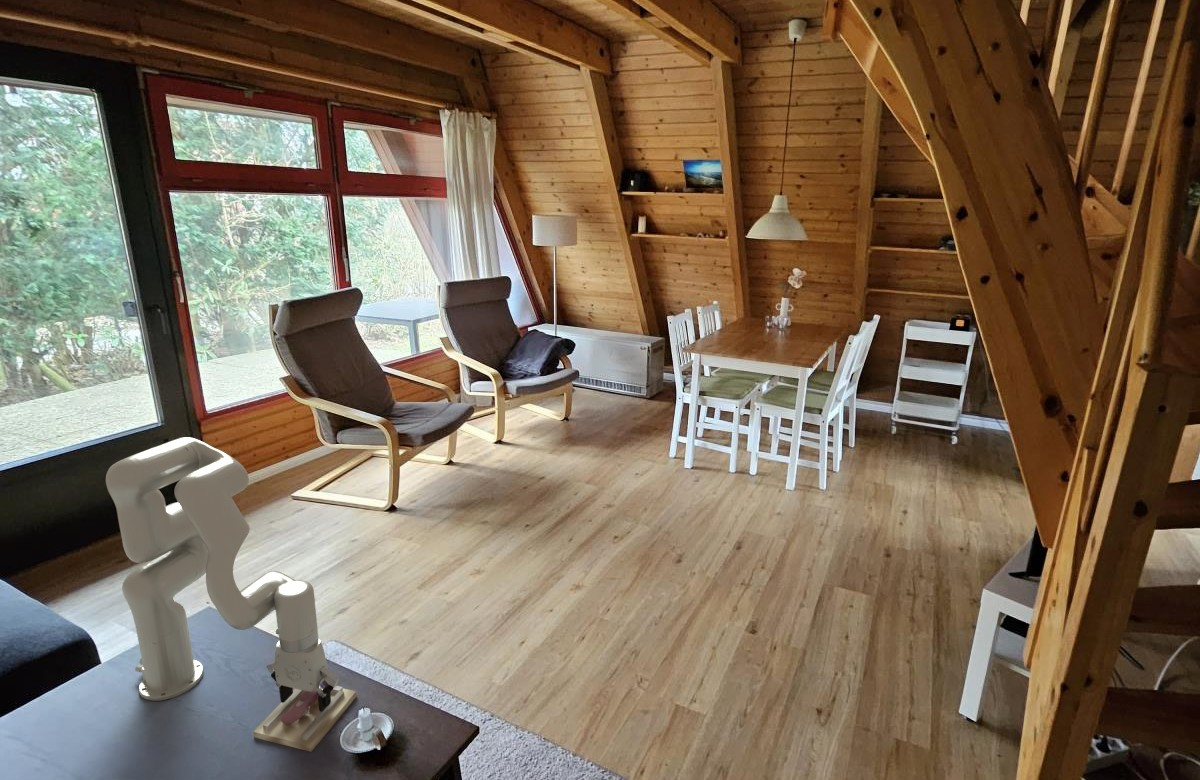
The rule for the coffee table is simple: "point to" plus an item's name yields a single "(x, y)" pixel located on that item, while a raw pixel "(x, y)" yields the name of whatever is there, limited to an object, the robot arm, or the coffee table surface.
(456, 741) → the coffee table surface
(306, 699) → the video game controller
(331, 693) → the dock
